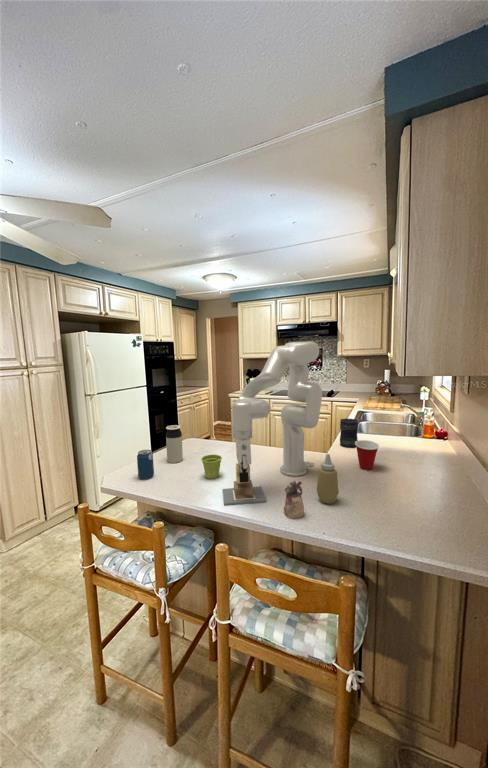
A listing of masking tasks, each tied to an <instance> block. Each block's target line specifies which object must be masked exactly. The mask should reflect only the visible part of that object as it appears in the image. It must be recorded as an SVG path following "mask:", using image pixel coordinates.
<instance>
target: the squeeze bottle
mask: <svg viewBox="0 0 488 768" xmlns="http://www.w3.org/2000/svg"><path fill="white" fill-rule="evenodd" d="M330 455H331V454H330V453H326V454H325V458H324V461H323V462H321V466H320V468H319V469H318V472H317V473H318V475H317V483H316V493H317V495H318V498H319V499H318V500H319V501H320V502H321V503H323V504H326V505H328V504H331V505H332V504H334V503H335V502H336V500H337V497H338V495H339V492H340V491H339V483H338V482H339V481H338V471H337V470H336V469H335V463H333V462H332V461H331V456H330Z"/></svg>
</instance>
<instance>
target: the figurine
mask: <svg viewBox="0 0 488 768" xmlns="http://www.w3.org/2000/svg"><path fill="white" fill-rule="evenodd" d="M301 485H302V481H301V480H299V481H298V482H296V480H291V481H289V482H288V483H287V485H286V487H285V489H284V492H285V501H284V507H283V514H284V516H285V518H288V519H291V520H292V519H293V520H296V519H300V518H302V517H303V516H304V513H305V506H304V500H303V496H302V495H303V489H302V488H303V487H302V486H301ZM299 491H300V492H299Z"/></svg>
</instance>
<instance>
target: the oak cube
mask: <svg viewBox="0 0 488 768" xmlns="http://www.w3.org/2000/svg"><path fill="white" fill-rule="evenodd" d="M241 464H243V463H241ZM247 466H248V482H240V465H239V464H238V462H237V463H235V478H236V480H235V481H237V484H238V483H250V480H251V465H250V464H248V462H247ZM242 467H243V466H242Z"/></svg>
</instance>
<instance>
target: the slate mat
mask: <svg viewBox="0 0 488 768" xmlns="http://www.w3.org/2000/svg"><path fill="white" fill-rule="evenodd" d="M253 488H254V498H243V499H235V494H234V487H231V488H222V499H223V505H224V506H235V505H251V504H261V503H263V504H264V503H267V499H266V495H265V493H264V491H263V487H262V486H261V485H259V486H257V485H256V486H253Z"/></svg>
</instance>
